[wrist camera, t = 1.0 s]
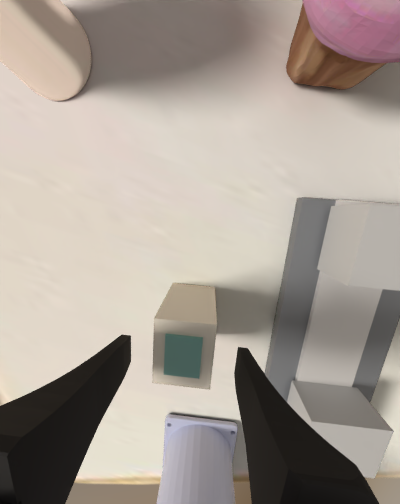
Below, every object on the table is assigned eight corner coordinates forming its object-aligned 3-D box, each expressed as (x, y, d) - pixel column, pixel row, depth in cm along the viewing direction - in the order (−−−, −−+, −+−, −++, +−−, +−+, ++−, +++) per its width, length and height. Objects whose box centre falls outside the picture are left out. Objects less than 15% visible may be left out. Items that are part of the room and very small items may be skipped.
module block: (210, 333, 19) (209, 392, 12) (170, 329, 19) (151, 385, 13) (214, 286, 17) (217, 326, 11) (172, 282, 18) (153, 320, 12)
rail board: (352, 419, 20) (398, 486, 15) (258, 408, 20) (273, 469, 15) (423, 207, 15) (523, 206, 10) (297, 198, 15) (336, 192, 10)
